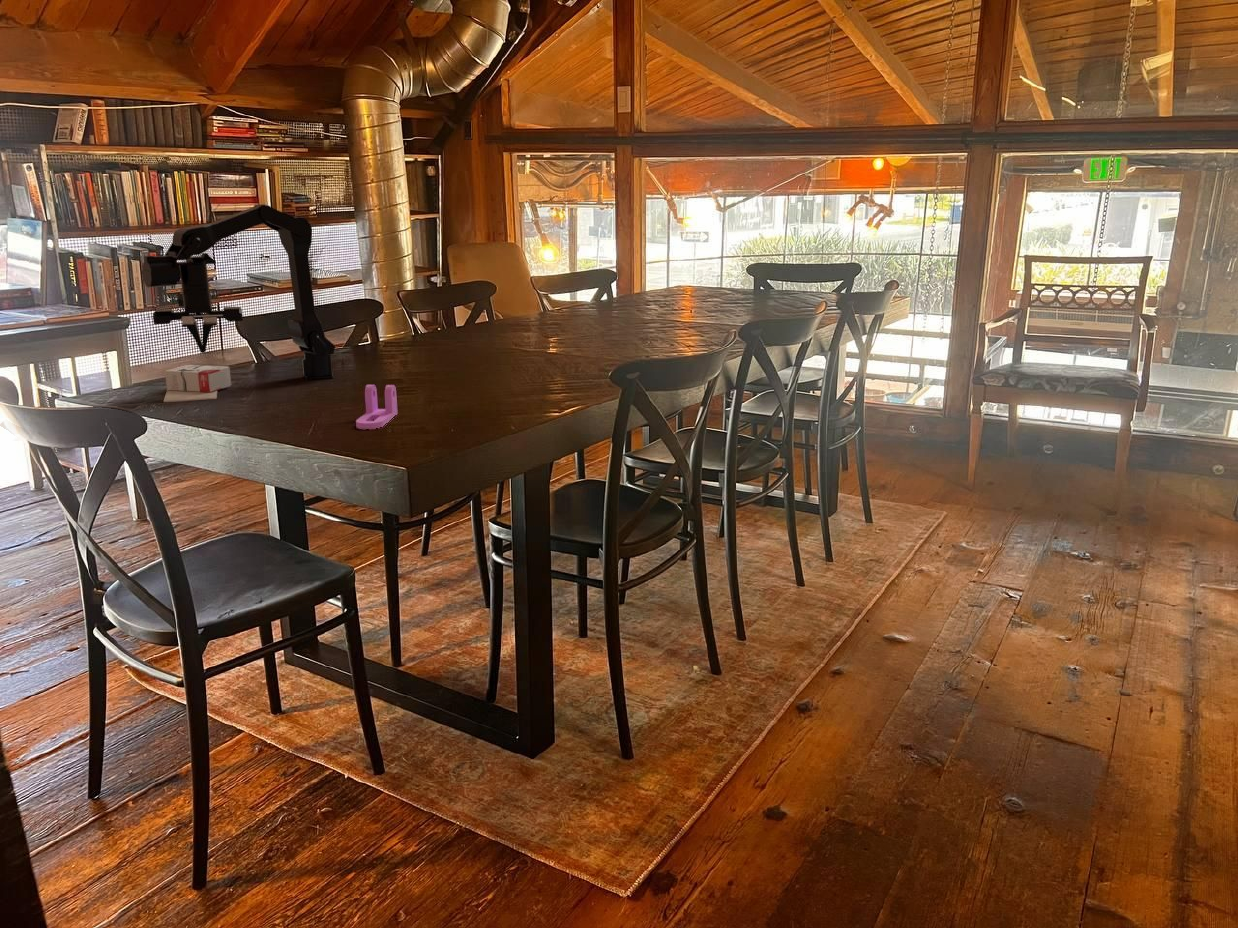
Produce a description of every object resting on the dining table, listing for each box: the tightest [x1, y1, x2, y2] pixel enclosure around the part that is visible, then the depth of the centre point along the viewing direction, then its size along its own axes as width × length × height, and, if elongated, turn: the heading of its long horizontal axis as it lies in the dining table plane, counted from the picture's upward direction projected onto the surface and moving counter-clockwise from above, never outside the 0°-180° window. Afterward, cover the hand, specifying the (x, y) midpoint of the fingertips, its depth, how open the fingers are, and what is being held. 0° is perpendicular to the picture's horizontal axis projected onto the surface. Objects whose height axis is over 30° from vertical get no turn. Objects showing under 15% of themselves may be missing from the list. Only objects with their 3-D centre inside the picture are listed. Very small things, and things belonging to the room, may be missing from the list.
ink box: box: [164, 364, 232, 392], centre depth 222 cm, size 9×5×12 cm
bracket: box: [355, 384, 399, 430], centre depth 192 cm, size 13×6×7 cm, turn 178°
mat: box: [163, 389, 218, 403], centre depth 218 cm, size 11×16×1 cm
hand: (203, 352), depth 216 cm, fingers closed
